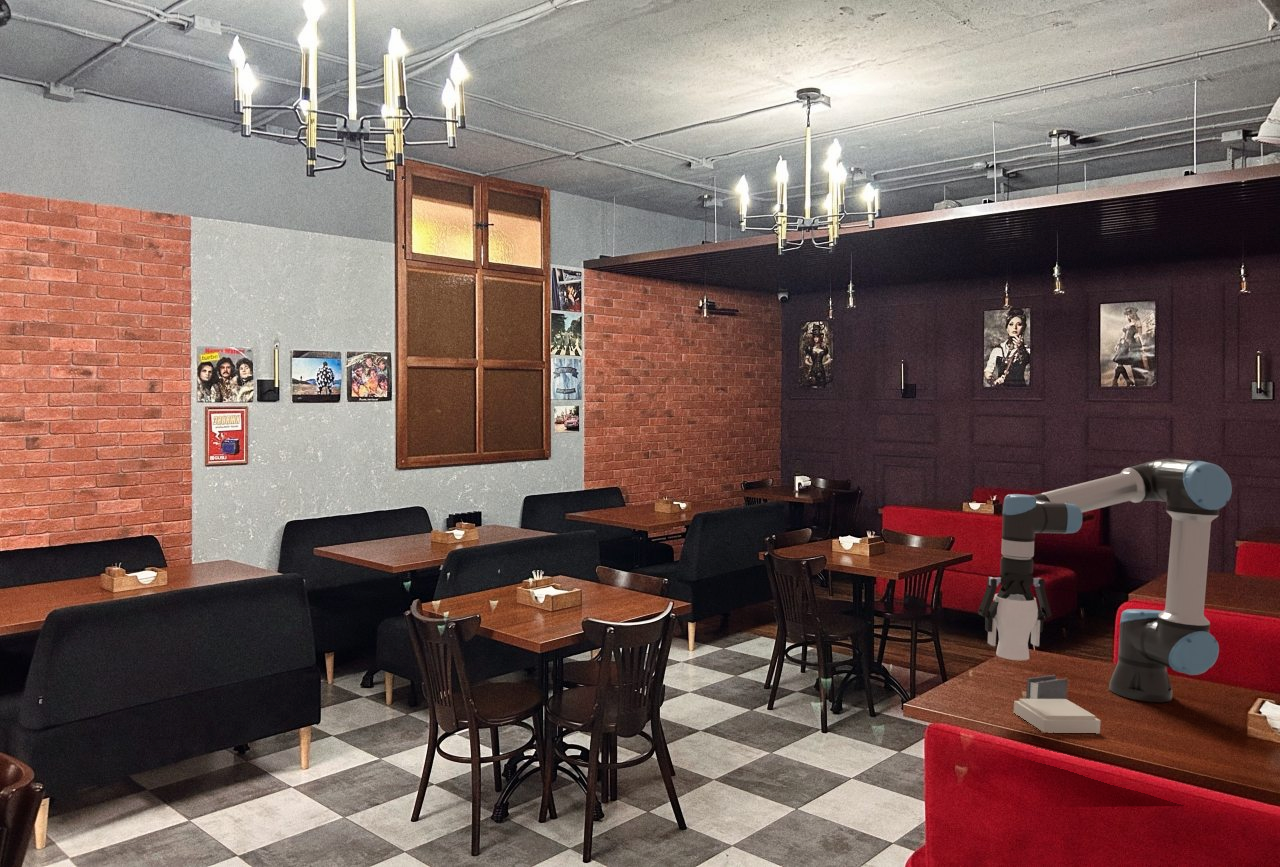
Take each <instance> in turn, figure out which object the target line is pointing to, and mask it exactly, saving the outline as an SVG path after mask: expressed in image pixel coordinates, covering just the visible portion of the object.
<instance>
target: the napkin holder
mask: <svg viewBox="0 0 1280 867" xmlns="http://www.w3.org/2000/svg"><path fill="white" fill-rule="evenodd" d="M1067 693H1068V678H1059V679H1057V674H1049V675H1042V676H1036V677H1035V676H1034V677H1028V678H1026V694H1025V696H1026V697H1025V699H1067Z"/></svg>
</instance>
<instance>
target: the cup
mask: <svg viewBox="0 0 1280 867" xmlns="http://www.w3.org/2000/svg"><path fill="white" fill-rule="evenodd" d="M997 595H998V593H995V594H994V597H993V600H992V602H993V601H994V600H995V602H999V603H998V607H997V614H996V615H995V617H994V619H996V620H997V624H996V630H997V632H998V642H997V643H998V644H997V648H996V652H995V655H996V656H997V657H999V658H1002V659H1007V660H1010V661H1011V660H1012V661H1027V660H1029V659H1030V651H1029V650H1030V649H1029V639H1030V636H1031V631H1032V629H1033V628H1034V626H1035V623H1036V620H1037V617H1038V608H1037V604H1038V603H1036V602H1037V598H1036V597H1034V600H1030V601H1026V599H1025V597H1024V595H1020V594H1015V595H1011V594H1010V596H1009V597H1007V598H1006V599H1004V598H1000V597H997Z"/></svg>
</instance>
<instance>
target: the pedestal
mask: <svg viewBox="0 0 1280 867" xmlns="http://www.w3.org/2000/svg"><path fill="white" fill-rule="evenodd" d="M1014 713H1015V714H1016V716H1017V715H1018V716H1020V717H1021V718H1023V719H1024V720H1026V721H1027V722H1029V723H1030V724H1032V725H1034V726H1035V727H1037V728H1038V729H1039V730H1041V731H1043V732H1048V733H1053V732H1054V733H1096V735H1097V734H1098V735H1100V733H1101V722H1102V721H1101V719H1099V718H1098V717H1096V715H1094V714H1093V713H1091V712H1090V711H1088V710H1086V709H1084V708H1082V707H1081V706H1079V705H1078V704H1076V703H1074V702H1072V701H1070V700H1068V699H1067V698H1066V699H1026V698H1019V699H1018V700H1014V702H1013V714H1014ZM1015 714H1014V715H1015ZM1018 716H1017V717H1018ZM1020 717H1019V718H1020ZM1021 718H1020V719H1021ZM1023 719H1022V720H1023ZM1024 720H1023V721H1024ZM1026 721H1025V722H1026ZM1027 722H1026V723H1027ZM1029 723H1028V724H1029ZM1030 724H1029V725H1030ZM1032 725H1031V726H1032ZM1035 727H1034V728H1035ZM1038 729H1037V730H1038ZM1039 730H1038V731H1039Z"/></svg>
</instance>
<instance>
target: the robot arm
mask: <svg viewBox="0 0 1280 867" xmlns="http://www.w3.org/2000/svg"><path fill="white" fill-rule="evenodd" d="M1232 491H1233V487H1232V481H1231V478H1230V476H1229V475H1228V473H1227V472H1226V471H1225V469H1223V468H1222V467H1221V466H1219V465H1218V464H1215V463H1211V462H1208V461H1202V460H1188V459H1177V458H1162V459H1156V460H1152V461H1148V462H1143V463H1140V464H1138V465H1137V464H1136V465H1134V466H1129V467H1126V468H1123V469H1122V470H1121V471H1120V473H1117V474H1113V475H1110V476H1106V477H1102V478H1097V479H1094V480H1089V481H1086V482H1081V483H1076V484H1073V485H1070V486H1066V487H1061V488H1056V489H1054V490H1049V491H1045V492H1041V493H1037V494H1031V495H1030V494H1022V493H1021V494H1020V493H1011V494H1007V495H1006V496H1005V497H1004V499H1003V504H1002V523H1001V524H1002V525H1001V526H1002V527H1001V549H1000V551H1001V552H1000V553H1001V555H1002V556H1001V557H1000V568H999V569H1000V575H999V576H998V577H992V576H988V578H987V585H986V589H985V592H984V594H983V597H982V600H981V603H980V606H979V607H978V611H977V613H978V615H980V616H981V617H984V618H985V619H984V622H985V624H984V630H985V631H986V632H987V644H988V645H990V646H992V647H996V643H997V627H996V624H997V620H996V619H994V617H995V615H996V614H997V607H998V603H999V602H995V600H994V596H995V594H996V591H997V588H998V586H999V584H1000V585H1001V587H1000V588H999V590H998V595H997V597H1000V598H1004V599H1006V598H1007V597H1009V596H1010V594H1011V595H1015V594H1020V595H1024V597H1025V599H1026V601H1030V600H1034V598H1035V596H1034V594H1033V592H1032V590H1031V586H1032V585H1033V586H1034V588H1035V592H1036V597H1037V599H1038V603H1039V604H1038V603H1037V601H1036V603H1037V608H1038V617H1037V620H1036V623H1035V626H1034V628H1033V629H1032V631H1031V632H1030V644H1031V645H1033V646H1034V647H1040V637H1041V635H1040V634H1041V633H1043V631H1044V621H1046V620H1047V618H1051V617H1052V616H1053V615H1052V611H1051V607H1050V604H1049V599H1048V596H1047V593H1046V589H1045V588H1046V587H1045V586H1046V585H1045V584H1046V581H1045V579H1044V578H1042V577H1039V576H1037V577H1033V572H1034V559H1033V557H1034V556H1035V538H1036V534H1063V535H1066V534H1074V533H1078V532H1079V530H1080V529H1081V528H1082V525H1083V513H1087V512H1089V511H1093V510H1098V509H1101V508H1107V507H1109V506H1113V505H1119V504H1122V503H1126V502H1131V503H1134V504H1136V503H1142V502H1146V501H1148V502H1149V501H1152V502H1154V501H1155V502H1165V503H1166V508H1165V511H1166V513H1167V514H1168V515H1169V516H1170V517H1171V528H1170V529H1171V532H1170V541H1169V542H1170V544H1169V554H1168V556H1169V557H1168V568H1167V578H1166V579H1167V582H1166V593H1165V596H1166V597H1165V605H1164V606H1165V608H1164V610H1157V609H1143V608H1142V609H1141V608H1140V609H1139V608H1127V609H1125V610H1123V611H1122V612H1121V614H1120V622H1119V636H1118V638H1119V639H1118V658H1117V664H1116V666H1115V668H1114V670H1113V674H1112V675H1111V678H1110V679H1109V687H1108V689H1109V691H1111V692H1112V693H1114V694H1116V695H1118V696H1121V697H1123V698H1126V699H1131V700H1136V701H1140V702H1147V703H1167V702H1170V701H1172V700H1173V688H1172V685H1171V682H1170V678H1169V674H1168V670H1167V668H1169V669H1170V670H1173V671H1174V672H1177V673H1183V674H1185V675H1189V676H1195V675H1196V676H1199V675H1201V674H1204V673H1206V672H1207V671H1208V670H1209V669H1210V668H1213V666H1214V664H1215V663H1216V662H1217V660H1218V657H1219V652H1220V645H1219V642H1218V640H1216V637H1215V636H1214V635H1212V633H1210V627H1211V622H1210V620H1209V619H1207V617H1206V616H1205V615H1204V613H1205V603H1206V590H1207V589H1206V588H1207V577H1208V565H1209V562H1208V561H1209V551H1210V538H1211V528H1212V526H1211V524H1212V522H1213V520H1215V519H1217V518H1218V517H1219V514H1220V509H1222V508H1224V507H1225V506H1226V505H1227V502H1229V501H1230V499H1231V497H1232V494H1233V492H1232ZM993 600H994V601H993Z"/></svg>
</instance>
